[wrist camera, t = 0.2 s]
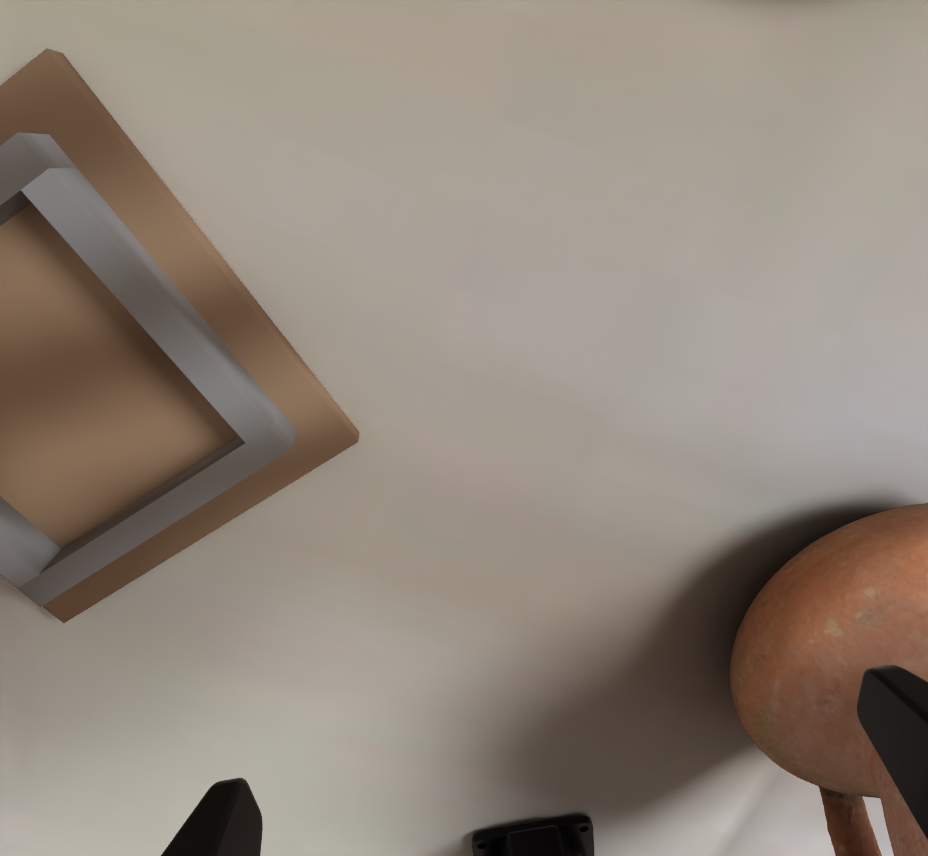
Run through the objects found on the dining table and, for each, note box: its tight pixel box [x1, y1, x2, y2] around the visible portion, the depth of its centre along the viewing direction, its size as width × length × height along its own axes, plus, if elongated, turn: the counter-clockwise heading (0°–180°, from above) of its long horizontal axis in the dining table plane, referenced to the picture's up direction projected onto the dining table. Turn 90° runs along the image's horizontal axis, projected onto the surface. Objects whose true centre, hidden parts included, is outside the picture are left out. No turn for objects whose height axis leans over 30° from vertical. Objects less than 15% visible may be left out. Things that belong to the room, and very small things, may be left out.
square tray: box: [0, 49, 359, 623], centre depth 19 cm, size 14×14×2 cm
